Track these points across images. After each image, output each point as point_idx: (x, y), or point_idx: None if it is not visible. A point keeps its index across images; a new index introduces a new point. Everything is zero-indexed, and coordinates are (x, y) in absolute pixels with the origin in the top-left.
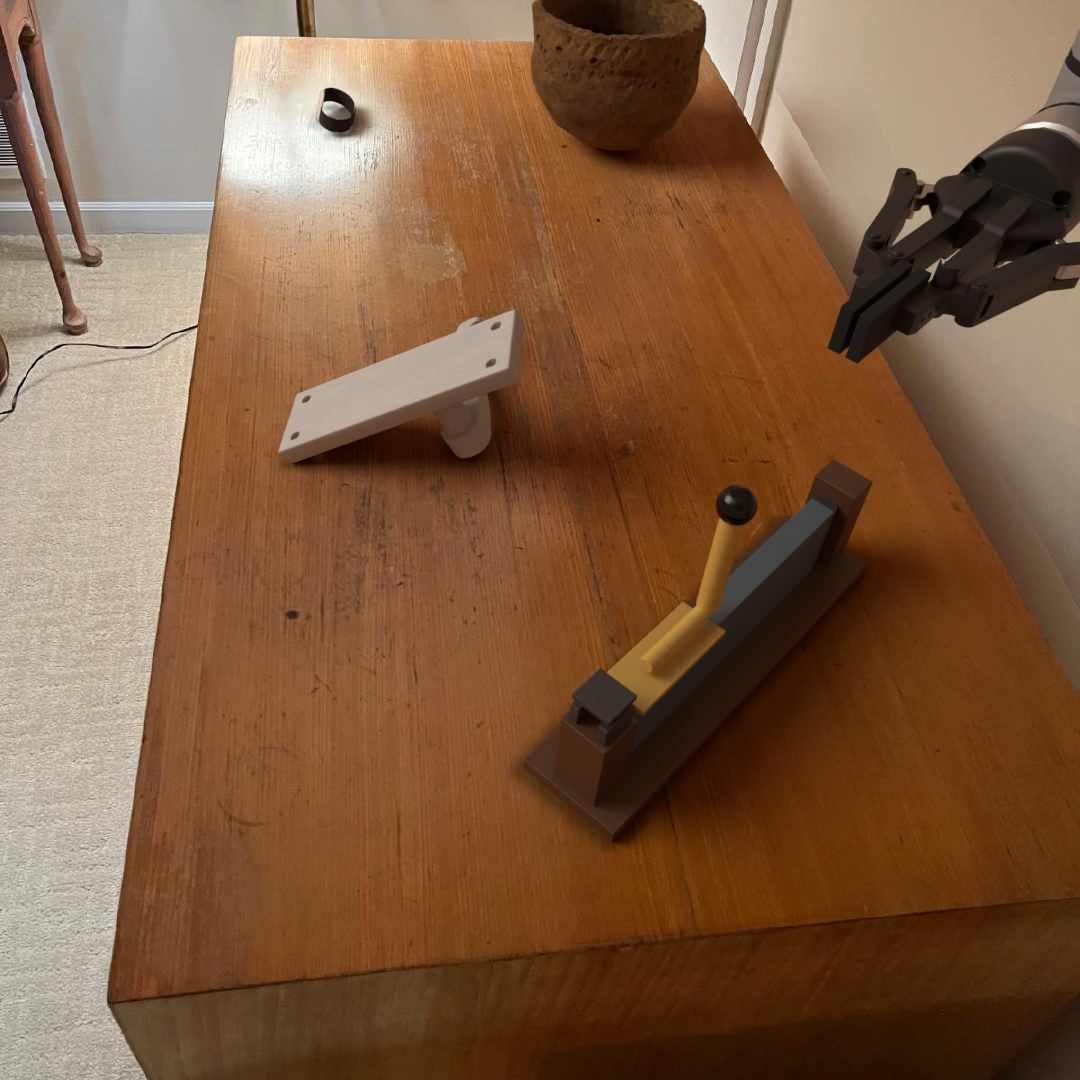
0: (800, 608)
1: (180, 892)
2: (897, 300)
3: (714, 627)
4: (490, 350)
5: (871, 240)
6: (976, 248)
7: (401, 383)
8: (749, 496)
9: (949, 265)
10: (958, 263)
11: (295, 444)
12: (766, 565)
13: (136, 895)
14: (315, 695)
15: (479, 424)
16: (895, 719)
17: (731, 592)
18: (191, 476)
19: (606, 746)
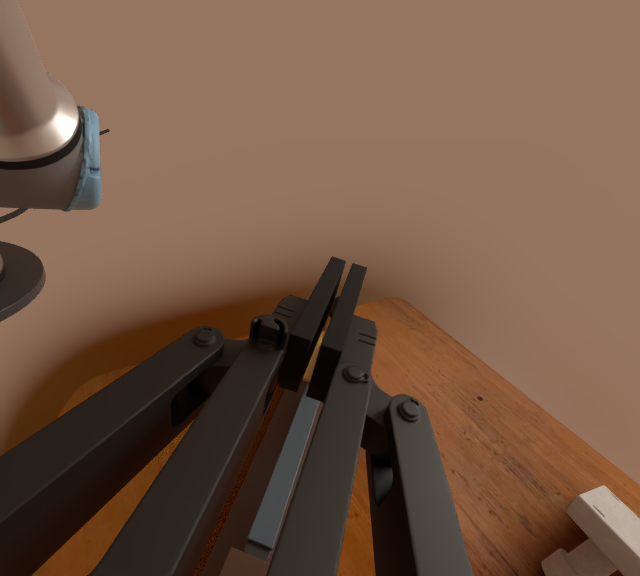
0: (245, 511)
1: (408, 312)
2: (319, 281)
3: (308, 377)
4: (620, 532)
5: (406, 397)
6: (199, 458)
7: (626, 521)
8: (336, 298)
9: (270, 319)
10: (244, 383)
11: (603, 486)
12: (292, 440)
13: (416, 309)
14: (436, 369)
15: (567, 571)
16: (169, 450)
17: (307, 408)
18: (604, 458)
19: (327, 319)
